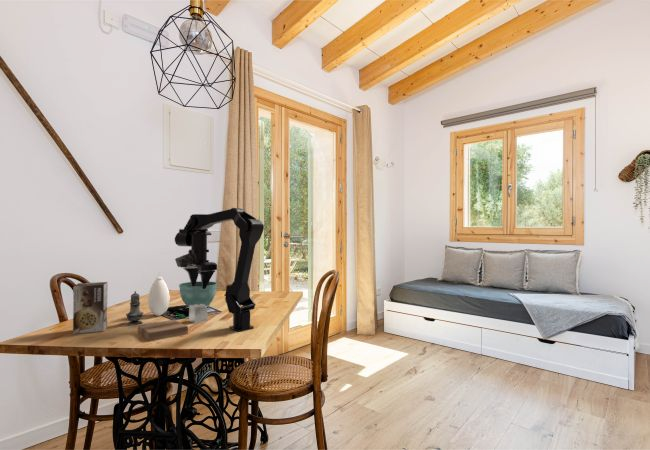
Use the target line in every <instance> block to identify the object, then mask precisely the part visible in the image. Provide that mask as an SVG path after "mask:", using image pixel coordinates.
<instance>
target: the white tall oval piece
mask: <svg viewBox="0 0 650 450" xmlns="http://www.w3.org/2000/svg"><path fill="white" fill-rule="evenodd" d="M170 297H171V296H170V291H169V288H168V285H167V283H166V282H165V280H164V278H163V277H162V276H161V271H160V270H159V271H158V276H157V277H155V280H154V281H153V283H152V284H151V286H150V289H149V292H148V297H147V305H148V308H149V310H150V312H151V313H152V314H153V315H154V316H156V317H157V316H159V317H160V316H162V315H164V313H166V312H167V310H168V309H169V306H170V299H171V298H170Z"/></svg>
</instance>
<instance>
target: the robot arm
mask: <svg viewBox="0 0 650 450" xmlns="http://www.w3.org/2000/svg"><path fill="white" fill-rule="evenodd" d="M230 221H232V222H233V224H234V225H235V227H236V228H238V229H239V231H238V235H239V239H240V249H239V254H238V259H237V264H236V267H235V269H236V270H235V274H234V279H233V282H231V283H230V284H227V285H226V287H225V293H224V298H225V299H224V300H225V302H226V306H227V310H228V313H231V314H232V325H229V327H228V328H230V329H231V330H234V331H237V332H241V331H245V330H250V329H254V328H255V326H253V325H251V311H253V310H255V307H256V302H254V300H253V298H252V297H251V289H250V287H249V278H250V273H251V269H252V264H253V258H254V253H255V249H256V245H257V244H258V242H259V240H260V239H261V238H262V234H263V233H264V230H265V229H264V227H265V226H264V223H263V222H262V220H261V219H257V218H256V217H254V216H252V214H249V213H248V212H246V211H245V210H244V209H243V208H240V207H232V208H230V209H225V210H221V211H217V212H212V213H208V214H206V213H205V214H204V213H198V214H197V213H195V214H190V216H189V219H188V221H187V222H186V224H185V226H184V228H179V229H178V232H177V233H176V235H175V237H174V243H175V244H176V245H177V246H178V247H191V248H189V250H188V253H187V254H183V255H181V256H179V257H176V258H175V259H174V260H175V263H176V266H177V267H178V268H182V269H183V270H184V271H185V272H187V274H188V278H189V280H190V281H189V282H191V285H192V286H195V284H196V282H198V281H197V280H198V277H199V275H200V281H201V282H202V289H206V287H207V285H208V283H209V282H211V278H212V277H213V275H214V273H215V272H216V271H218V264H217V263H216V262H215V261H214V262H213V261H210V260H209V259H208V253H209V252H210V250H209V249H208V236H212V233H211V231H209V229H210V228H212V227H213V226H214V225H217V224H222V223H226V222H230Z"/></svg>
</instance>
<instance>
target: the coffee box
mask: <svg viewBox="0 0 650 450" xmlns="http://www.w3.org/2000/svg"><path fill="white" fill-rule="evenodd" d="M72 293H73V296H72V297H73V299H72V300H73V301H72V303H73V304H72V305H73V309H72V310H73V311H72V313H73V315H72V316H73V317H72V319H73V320H72V334H74V335H76V334H85V333H97V332H105V330H107V327H108V281H104V282H103V281H102V282H100V281H99V282H98V281H97V282H82V283H81V282H80V283H79V282H78V283H77V284H75V285H74V286H73V291H72Z"/></svg>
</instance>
